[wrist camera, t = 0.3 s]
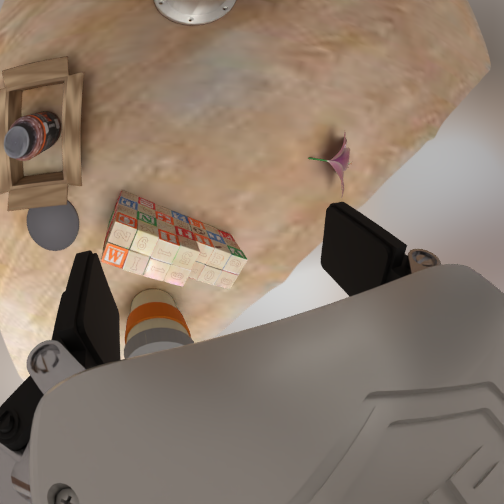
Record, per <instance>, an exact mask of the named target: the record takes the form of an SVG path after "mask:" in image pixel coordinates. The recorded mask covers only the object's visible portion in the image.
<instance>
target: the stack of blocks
mask: <svg viewBox="0 0 504 504" xmlns="http://www.w3.org/2000/svg"><path fill="white" fill-rule="evenodd" d="M101 262H103V263H106V264H109V265H112V266H115V267H118V268H122V269H123V270H125V271H128V272H132V273H135V274H139V275H144V276H145V277H148V278H152V279H155V280H159V281H164V282H167V283H171V284H174V285H178V286H182V287H183V286H184V284H185V282H186V280H187V278H188V277H189V278H192V279H195V280H197V281H200V282H204V283H207V284H211V285H216V286H219V287H223V288H226V289H230V288H231V286H232V285H233V283H234V282H235V280H236V278H237V277H238V274H239V273H240V272H241V270H242V268H243V267H244V265H245V263H246V262H247V258H246V256H245V255H244V253H243V252H242V250H240V248H239V246H238V245H237V243H236V242H235V240H234V239H233V237H232V236H231V235H230V234H228V233H225V232H223V231H220V230H218V229H216V228H214V227H212V226H209V225H207V224H204V223H202V222H200V221H197V220H195V219H192V218H190V217H186V216H184V215H181V214H179V213H176V212H174V211H171V210H169V209H166V208H164V207H161V206H159V205H156V204H155V203H152V202H150V201H148V200H145V199H143V198H140V197H138V196H136V195H133V194H131V193H128V192H126V191H123V190H122V191H121V193H120V196H119V198H118V201H117V203H116V205H115V209H114V211H113V214H112V216H111V219H110V221H109V225H108V229H107V233H106V238H105V241H104V246H103V253H102V258H101Z"/></svg>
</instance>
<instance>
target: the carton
mask: <svg viewBox="0 0 504 504" xmlns="http://www.w3.org/2000/svg"><path fill="white" fill-rule="evenodd" d="M2 74H3V79H4V84H5V88H4V89H0V194H3V193H6V192H8V191H9V198H8V210H7V211H13V210H21V209H30V208H39V207H48V206H58V205H67V193H68V184H70V185H76V186H82V177H81V147H80V132H81V103H82V88H83V77H84V72H82V73H77V74H73V75H69V67H68V56H67V57H60V58H54V59H49V60H44V61H39V62H34V63H30V64H26V65H22V66H18V67H14V68H10V69H7V70H3V71H2ZM60 83H64V90H63V107H62V158H63V172H55V173H47V174H39V175H32V176H25V177H24V174H23V162H22V161H20V160H17V159H14V158H11V157H9V156H8V155H7V154H6V152H5V149H4V138H5V135H6V133H7V132H8V131H9V129H10V127H11V125H12V124H13V123H14V122H15V121H16V120H17V119H19V118H21V102H22V91H23V90H27V89H32V88H37V87H42V86H48V85H54V84H60Z"/></svg>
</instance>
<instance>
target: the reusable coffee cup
mask: <svg viewBox="0 0 504 504" xmlns="http://www.w3.org/2000/svg"><path fill="white" fill-rule="evenodd" d="M193 343H194V341H193V340H192V339H191V334H190V331H189V329H188V327H187V325H186V322H185V320H184V318H183V316H182V314H181V312H180V311H179V310H178V309H177V307H176V305H175V302H174V300H173V298H172V297H171V296H170V295H169V294H168V293H167V292H165V291H162V290H158V289H149V290H145V291H142V292H140V293H139V294H138V295H136V297H135V298H134V299H133V301H132V305H131V312H130V315H129V316H128V319H127V325H126V332H125V344H126V345H125V348H124V357H125V359H128V358H132V357H136V356H141V355H145V354H149V353H154V352H158V351H163V350H167V349H172V348H176V347H180V346H185V345H189V344H193Z"/></svg>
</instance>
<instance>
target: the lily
mask: <svg viewBox="0 0 504 504" xmlns="http://www.w3.org/2000/svg"><path fill="white" fill-rule="evenodd" d="M346 143H347V139H346V138H345V134H344V142H343V146H342V148H341V150H340V151H339V152H338V153H337V154H336V155H335V156H334V157H333V158H332V159H331V160H324V159H317V158H308V159H313V160H320V161H326V162H329V163H330V164H331V165H332V167H333V168H334V170H335V171H336V172H337V174H338V175H339V177H340V179H341V182H342V185H343V190H342V187H341V190H342V197H343V192H344V183H343V175H344V171H345V170H346V169H347V167H348V164H352V163H349V155H350V148H346Z"/></svg>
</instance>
